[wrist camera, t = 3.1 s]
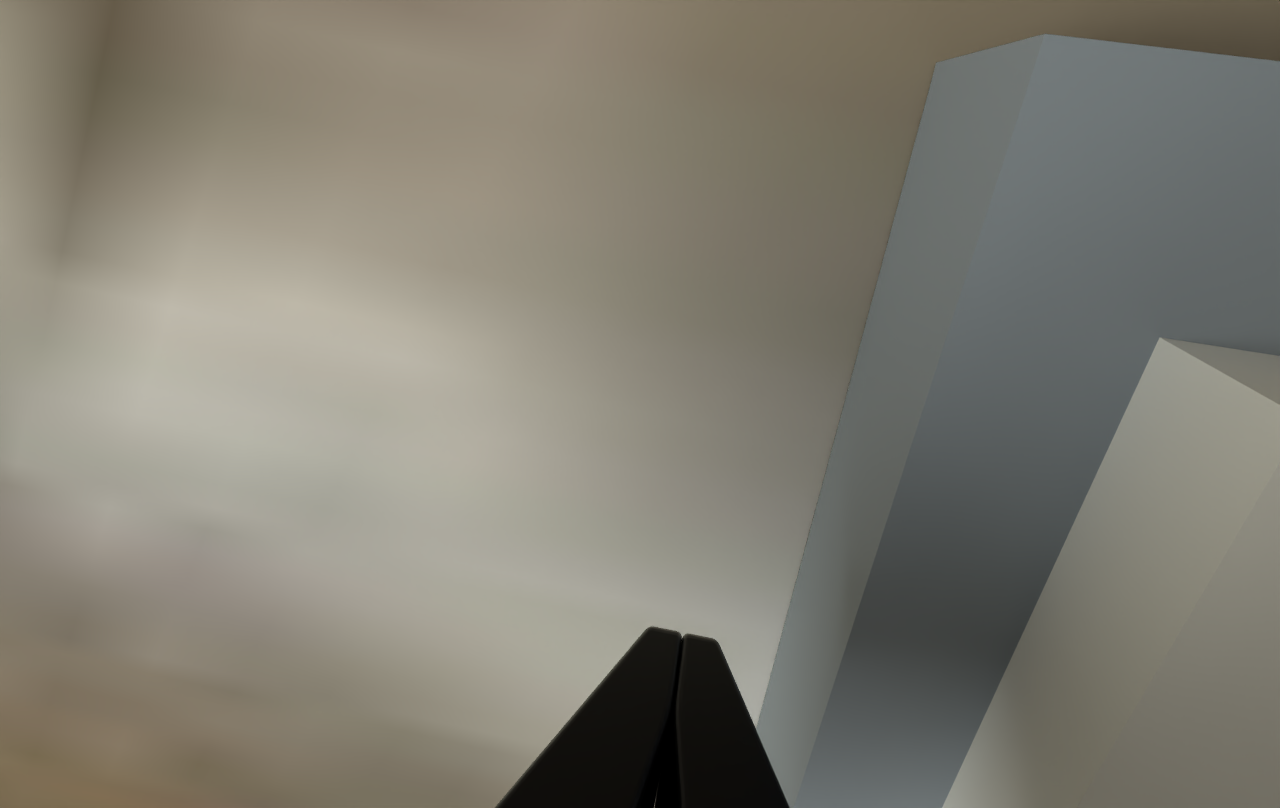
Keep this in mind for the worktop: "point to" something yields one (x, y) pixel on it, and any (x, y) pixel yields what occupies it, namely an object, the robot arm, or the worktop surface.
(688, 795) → the robot arm
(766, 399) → the worktop surface
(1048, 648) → the white rectangular block
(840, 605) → the light blue flat slab
